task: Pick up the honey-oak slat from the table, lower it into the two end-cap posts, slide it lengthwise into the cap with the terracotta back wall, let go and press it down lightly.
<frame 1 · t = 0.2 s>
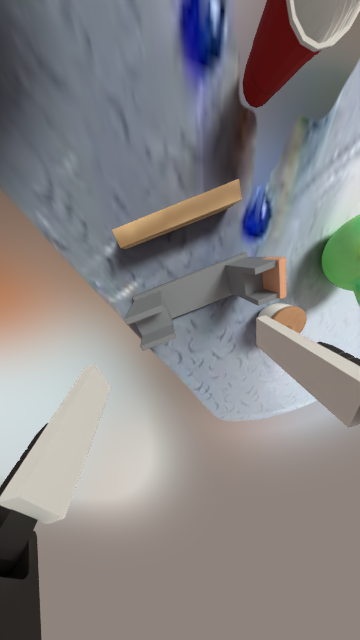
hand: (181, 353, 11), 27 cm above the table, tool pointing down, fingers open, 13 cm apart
toy bird: (331, 255, 39), on the table
slat: (174, 221, 31), on the table
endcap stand: (195, 290, 37), on the table
plastic cup: (258, 84, 24), on the table
lidded jar: (266, 315, 44), on the table
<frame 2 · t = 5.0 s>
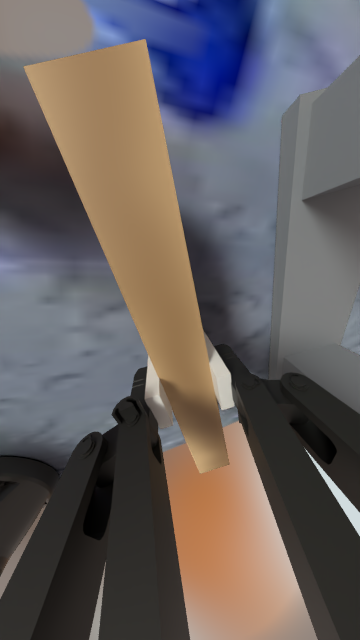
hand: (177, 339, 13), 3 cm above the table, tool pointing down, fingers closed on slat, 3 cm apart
slat: (176, 336, 14), point 3 cm above the table, touching gripper
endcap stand: (309, 286, 17), on the table
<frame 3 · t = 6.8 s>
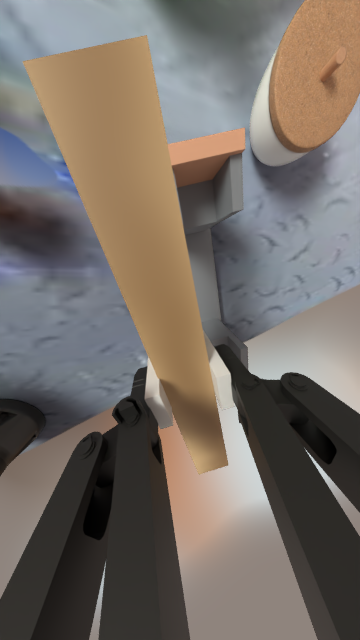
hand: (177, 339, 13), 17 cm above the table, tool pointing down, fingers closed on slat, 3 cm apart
slat: (176, 336, 14), point 17 cm above the table, touching gripper
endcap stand: (192, 283, 29), on the table
lidded jar: (267, 135, 22), on the table
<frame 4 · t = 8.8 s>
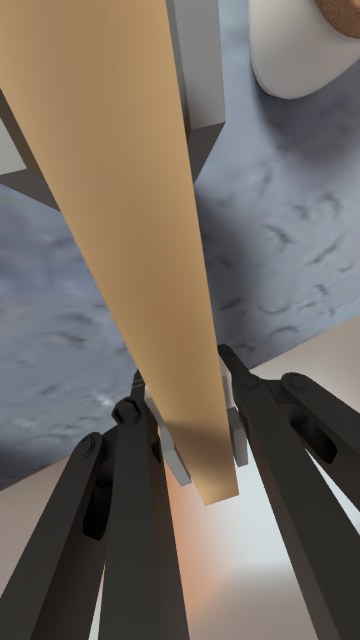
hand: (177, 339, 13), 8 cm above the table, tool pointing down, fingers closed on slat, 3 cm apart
slat: (179, 347, 12), point 9 cm above the table, touching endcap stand, gripper
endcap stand: (165, 299, 20), on the table
lidded jar: (281, 45, 12), on the table
when the fingers open (7 cm above the table, at t = 9.7 s): slat stays where it is, resting on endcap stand.
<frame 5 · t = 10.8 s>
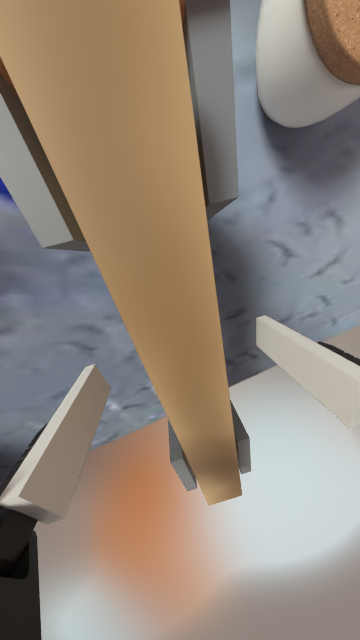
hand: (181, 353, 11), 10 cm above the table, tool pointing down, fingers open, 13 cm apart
slat: (183, 350, 12), point 9 cm above the table, touching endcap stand
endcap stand: (172, 310, 20), on the table
lidded jar: (286, 75, 13), on the table
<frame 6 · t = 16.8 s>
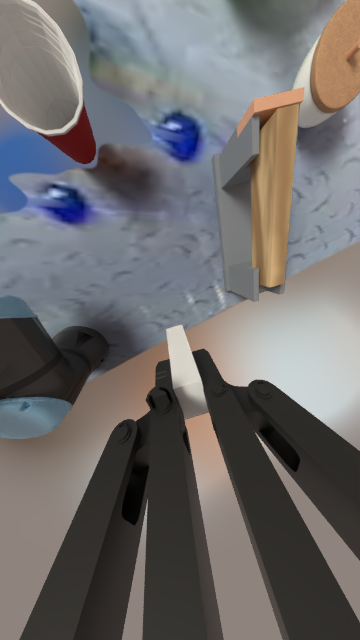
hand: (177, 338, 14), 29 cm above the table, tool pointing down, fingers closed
slat: (258, 223, 29), point 9 cm above the table, touching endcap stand
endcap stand: (235, 228, 37), on the table
plastic cup: (80, 143, 27), on the table
lidded jar: (301, 105, 30), on the table
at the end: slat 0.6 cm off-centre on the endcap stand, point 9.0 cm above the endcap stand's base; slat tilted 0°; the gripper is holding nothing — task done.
